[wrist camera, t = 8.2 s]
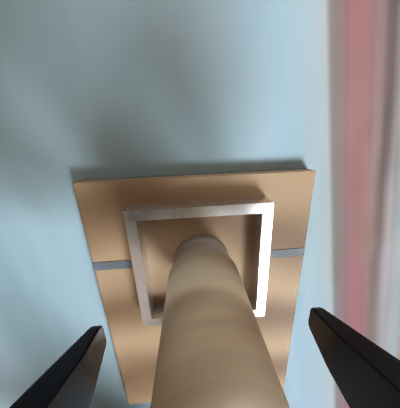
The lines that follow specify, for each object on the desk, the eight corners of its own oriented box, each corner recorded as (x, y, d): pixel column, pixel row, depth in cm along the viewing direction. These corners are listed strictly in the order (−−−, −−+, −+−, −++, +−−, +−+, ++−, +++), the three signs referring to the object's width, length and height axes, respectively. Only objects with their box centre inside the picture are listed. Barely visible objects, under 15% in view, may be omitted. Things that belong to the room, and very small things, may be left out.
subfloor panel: (279, 378, 19) (283, 389, 18) (131, 393, 18) (128, 404, 17) (307, 168, 12) (316, 171, 12) (80, 180, 12) (72, 183, 11)
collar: (258, 302, 15) (264, 316, 13) (147, 311, 14) (143, 326, 13) (266, 196, 12) (274, 202, 11) (129, 204, 12) (122, 211, 10)
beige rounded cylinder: (231, 281, 14) (282, 454, 6) (173, 285, 14) (156, 469, 6) (231, 230, 13) (297, 370, 5) (168, 234, 12) (138, 385, 5)
